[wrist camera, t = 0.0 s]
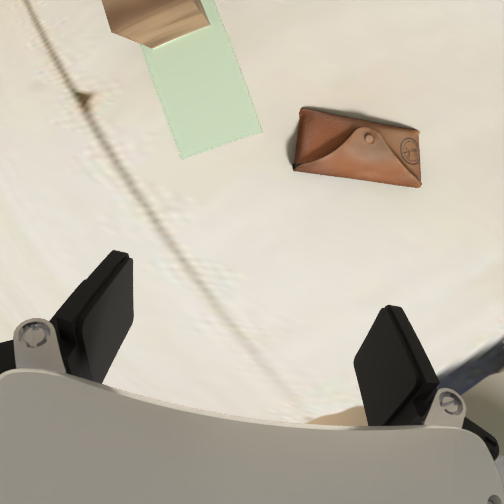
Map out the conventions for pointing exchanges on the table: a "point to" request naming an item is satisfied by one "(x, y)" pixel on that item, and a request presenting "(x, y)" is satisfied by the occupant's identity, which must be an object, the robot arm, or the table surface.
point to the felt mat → (202, 88)
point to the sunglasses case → (357, 149)
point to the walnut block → (155, 19)
